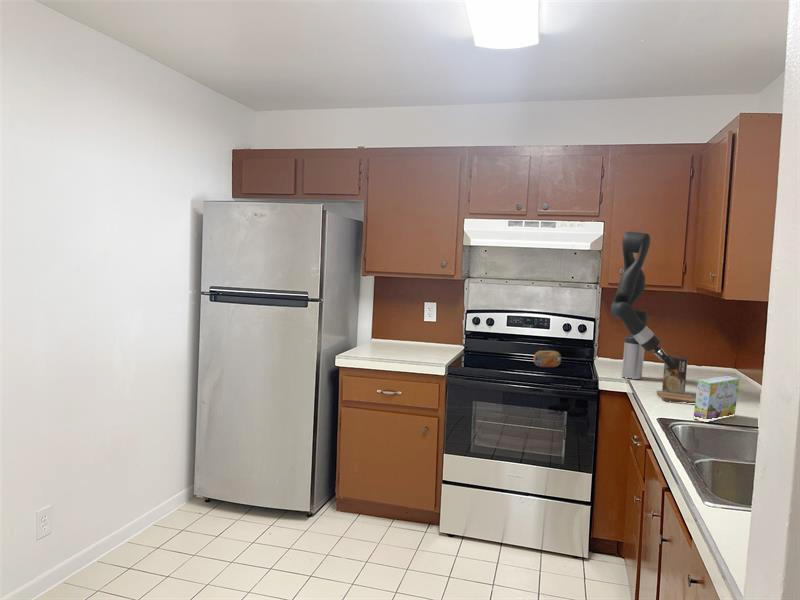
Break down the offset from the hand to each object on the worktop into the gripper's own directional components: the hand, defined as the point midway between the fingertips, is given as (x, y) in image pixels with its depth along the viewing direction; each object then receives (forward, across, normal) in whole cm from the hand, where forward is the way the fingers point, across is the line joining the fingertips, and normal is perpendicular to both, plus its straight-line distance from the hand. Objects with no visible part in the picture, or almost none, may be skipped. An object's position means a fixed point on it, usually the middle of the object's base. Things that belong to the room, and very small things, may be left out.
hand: (672, 366), depth 262 cm
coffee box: (+9, 0, +7) cm, 12 cm away
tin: (-28, +37, +45) cm, 64 cm away
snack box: (+13, -39, +3) cm, 41 cm away
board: (+8, -12, +8) cm, 17 cm away
